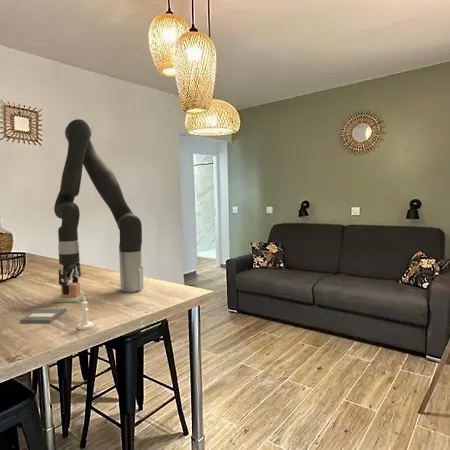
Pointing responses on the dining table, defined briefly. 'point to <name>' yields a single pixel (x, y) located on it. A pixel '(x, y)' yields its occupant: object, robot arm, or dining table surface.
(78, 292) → the green plate orange block
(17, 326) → the dining table surface
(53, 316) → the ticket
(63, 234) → the robot arm
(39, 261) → the dining table surface
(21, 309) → the dining table surface
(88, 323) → the chess piece
